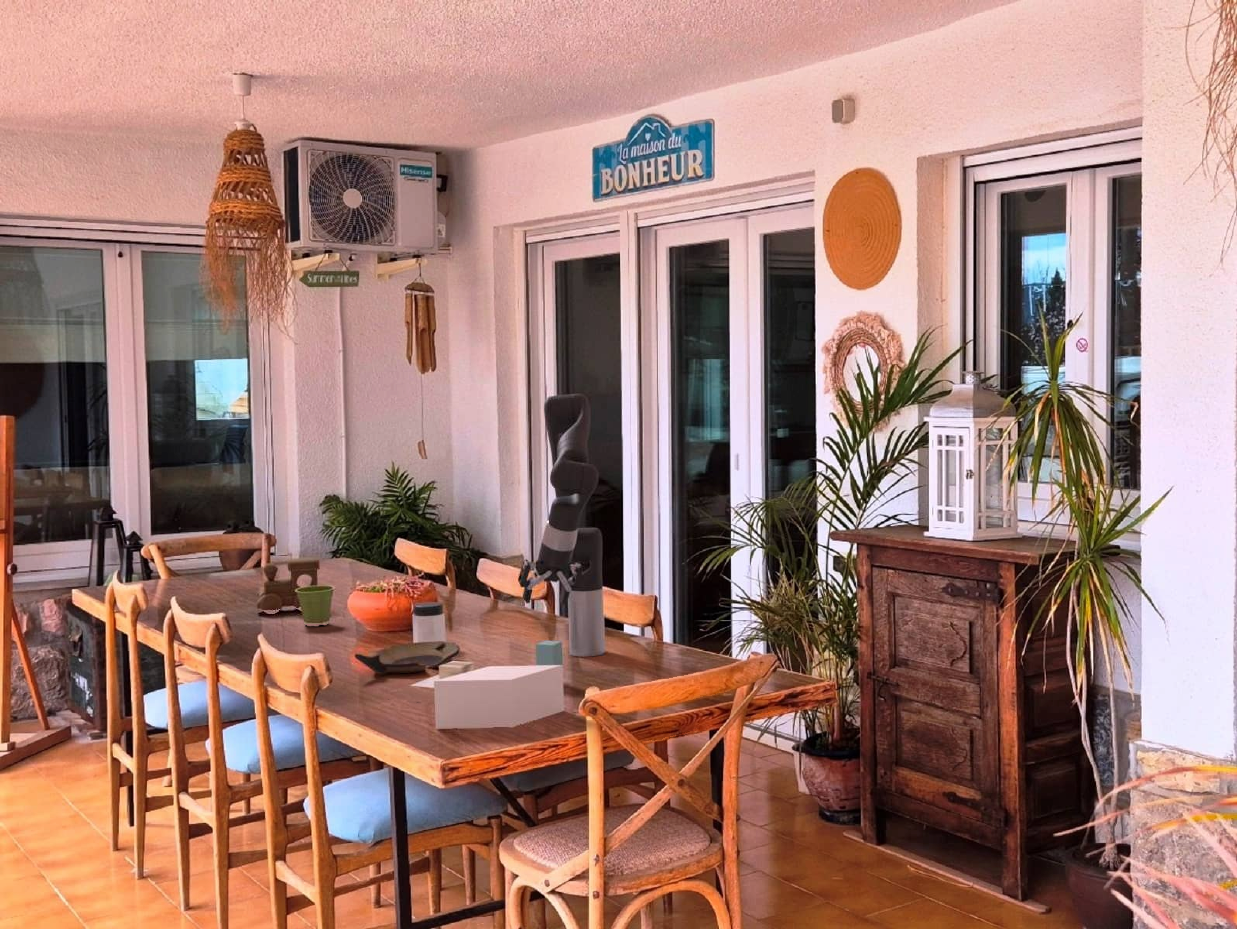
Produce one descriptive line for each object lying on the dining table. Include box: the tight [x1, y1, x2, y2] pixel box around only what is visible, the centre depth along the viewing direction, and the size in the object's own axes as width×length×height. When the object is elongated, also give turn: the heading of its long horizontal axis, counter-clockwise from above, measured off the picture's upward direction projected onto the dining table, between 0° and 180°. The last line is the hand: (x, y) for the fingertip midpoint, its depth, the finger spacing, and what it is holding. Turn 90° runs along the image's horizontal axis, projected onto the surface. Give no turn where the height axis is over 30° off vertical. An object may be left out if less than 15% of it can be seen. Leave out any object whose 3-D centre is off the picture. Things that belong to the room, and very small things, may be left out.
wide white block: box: [433, 665, 565, 730], centre depth 281 cm, size 14×29×10 cm, turn 115°
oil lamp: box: [354, 641, 461, 675], centre depth 331 cm, size 22×30×8 cm
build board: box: [409, 674, 439, 689], centre depth 314 cm, size 16×16×1 cm
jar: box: [412, 601, 447, 643], centre depth 360 cm, size 9×8×12 cm
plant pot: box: [295, 585, 336, 623], centre depth 398 cm, size 12×12×11 cm
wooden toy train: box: [256, 557, 321, 611], centre depth 425 cm, size 20×11×17 cm, turn 107°
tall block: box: [535, 640, 563, 666], centre depth 312 cm, size 4×4×10 cm
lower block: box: [438, 660, 475, 680], centre depth 314 cm, size 6×6×4 cm
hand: (544, 602), depth 305 cm, fingers open, 8 cm apart
